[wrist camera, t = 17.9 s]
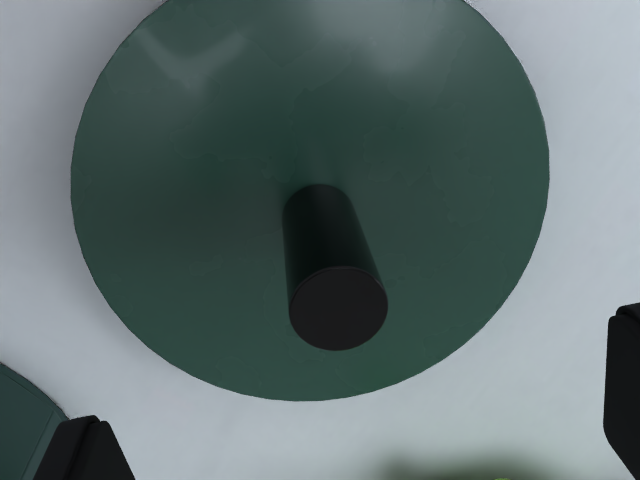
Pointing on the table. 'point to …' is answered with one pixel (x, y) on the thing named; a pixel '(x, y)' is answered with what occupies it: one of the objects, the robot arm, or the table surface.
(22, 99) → the table surface
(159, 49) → the pot lid
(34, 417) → the pot
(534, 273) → the table surface
